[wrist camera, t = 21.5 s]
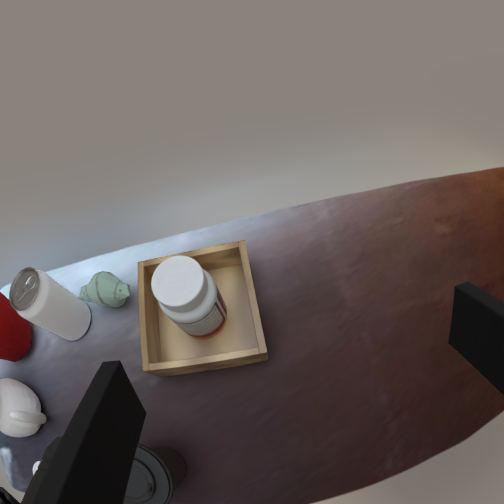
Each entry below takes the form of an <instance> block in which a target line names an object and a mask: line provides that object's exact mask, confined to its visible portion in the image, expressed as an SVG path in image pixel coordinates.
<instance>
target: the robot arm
mask: <svg viewBox="0 0 504 504" xmlns="http://www.w3.org/2000/svg"><path fill="white" fill-rule="evenodd" d="M448 343H449V344H450V345H451V346H453V347H454V348H455V349H456V350H457V351H458V352H459V353H460V354H461V355H462V356H463V357H464V358H466V359H467V360H468V361H469V362H470V363H471V364H472V365H473V366H474V367H475V368H476V369H477V370H478V371H479V372H480V373H481V374H482V375H483V376H484V377H486V378H487V379H488V380H489V381H490V382H491V383H492V384H493V385H494V386H495V387H496V388H497V389H498V390H499V391H500V392H501V393H502V394H503V395H504V303H503V302H502V301H500V300H498V299H497V298H495V297H493V296H492V295H490V294H488V293H487V292H485V291H483V290H482V289H480V288H478V287H476V286H475V285H473V284H471V283H470V282H465V283H462V284H459V285H457V286H455V292H454V303H453V312H452V321H451V328H450V335H449V342H448ZM145 416H146V412H145V410H144V408H143V406H142V404H141V402H140V400H139V398H138V397H137V395H136V393H135V391H134V389H133V387H132V385H131V383H130V381H129V379H128V377H127V375H126V372H125V370H124V368H123V366H122V364H121V362H120V361H109V362H103V363H102V364H101V366H100V368H99V370H98V371H97V373H96V375H95V377H94V379H93V380H92V382H91V384H90V386H89V388H88V389H87V391H86V393H85V395H84V397H83V399H82V400H81V402H80V404H79V406H78V408H77V410H76V412H75V414H74V416H73V418H72V420H71V421H70V423H69V425H68V427H67V429H66V431H65V433H64V435H63V437H57V438H56V439H55V440H54V441H53V442H52V443H51V444H50V445H49V446H48V447H47V449H46V451H45V453H44V455H43V457H42V461H40V463H39V465H38V470H36V472H35V474H34V476H33V478H32V480H31V482H30V484H29V486H28V489H27V491H26V493H25V495H24V498H23V500H22V502H21V503H19V502H18V501H17V500H16V499H15V498H14V497H13V496H12V495H10V494H9V493H8V492H7V491H6V490H5V489H4V488H3V487H0V504H123V502H124V497H125V493H126V489H127V485H128V481H129V477H130V472H131V468H132V465H133V461H134V457H135V453H136V449H137V445H138V442H139V438H140V434H141V431H142V427H143V423H144V420H145Z"/></svg>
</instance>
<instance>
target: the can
mask: <svg viewBox="0 0 504 504" xmlns="http://www.w3.org/2000/svg"><path fill="white" fill-rule="evenodd" d="M9 299H10V303H11V306H12V307H13V308H14V309H15V310H16V311H17V312H18V314H19V315H20V316H21V317H23V318H25V319H26V320H28V321H30V322H32V323H34V324H36V325H37V326H39V327H41V328H43V329H45V330H47V331H49V332H51V333H53V334H56V335H58V336H60V337H62V338H64V339H67V340H70V341H74V340H77V339H79V338H81V337H82V336H83V335H84V334H85V333H86V331H87V330H88V328H89V325H90V320H91V314H90V309H89V307H88V306H87V304H86V303H85V302H84V301H82V300H81V299H79V298H78V297H77V296H75V295H74V294H73V293H71V292H70V291H68V290H67V289H66V288H64V287H63V286H62V285H60V284H59V283H58V282H56V281H55V280H54V279H52V278H51V277H50V276H48V275H47V274H46V273H44V272H42V271H40V270H35V269H34V268H31V267H28V268H25V269H23V270H21V271H20V272H19V273H18V274H17V275H16V277H15V278H14V280H13V282H12V284H11V287H10V292H9Z"/></svg>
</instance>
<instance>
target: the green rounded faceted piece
mask: <svg viewBox="0 0 504 504" xmlns="http://www.w3.org/2000/svg"><path fill="white" fill-rule="evenodd" d="M128 296H130V285H128V284H125V283H123V282H121V281H120V280H119V279H118V278H117V277H116V276H115V275H113V274H112V273H110V272H103V271H102V272H99V273H96V274H95V275H94V276H93V278H92V279H91V281H90V282H89V284H88V285H86V286H83V287H81V291H80V295H79V299H82V300H86V301H89V302H93V303H96V304H99V305H102V306H105V307H111V308H116V307H121V306H122V305H123V304H124V303H125V301H126V297H128Z"/></svg>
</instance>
